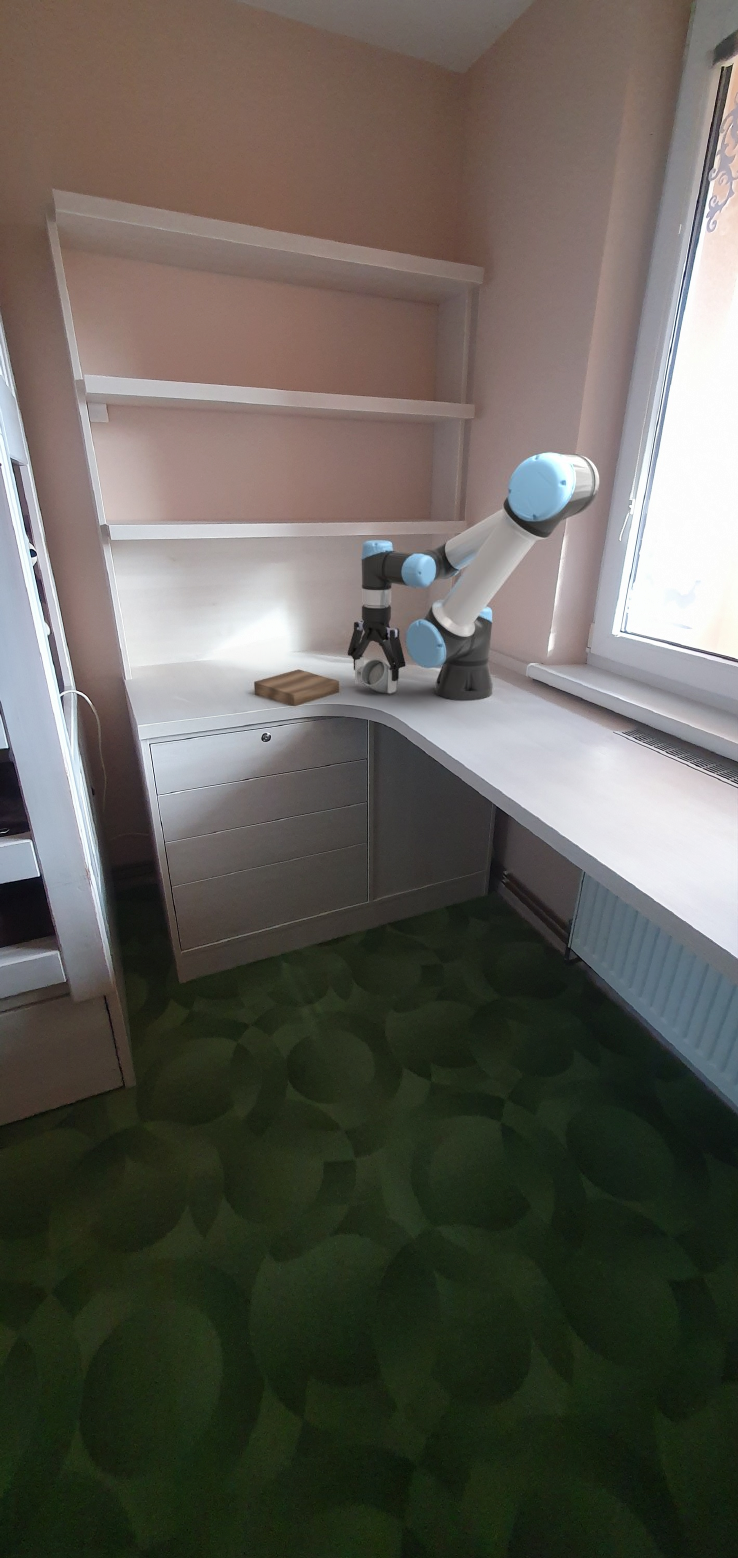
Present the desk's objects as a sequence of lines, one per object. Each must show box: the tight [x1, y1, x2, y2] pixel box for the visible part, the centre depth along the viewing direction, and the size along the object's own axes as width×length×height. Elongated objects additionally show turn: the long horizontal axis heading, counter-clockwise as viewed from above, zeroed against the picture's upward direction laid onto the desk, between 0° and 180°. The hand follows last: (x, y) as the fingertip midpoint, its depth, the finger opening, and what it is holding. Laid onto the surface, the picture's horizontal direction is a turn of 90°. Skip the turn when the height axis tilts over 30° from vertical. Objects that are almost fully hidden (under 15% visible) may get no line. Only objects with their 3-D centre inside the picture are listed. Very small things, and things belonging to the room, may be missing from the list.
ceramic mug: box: [358, 658, 399, 694], centre depth 174 cm, size 11×8×8 cm
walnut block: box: [253, 669, 340, 707], centre depth 175 cm, size 16×16×4 cm
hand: (375, 687), depth 176 cm, fingers closed on ceramic mug, 11 cm apart
